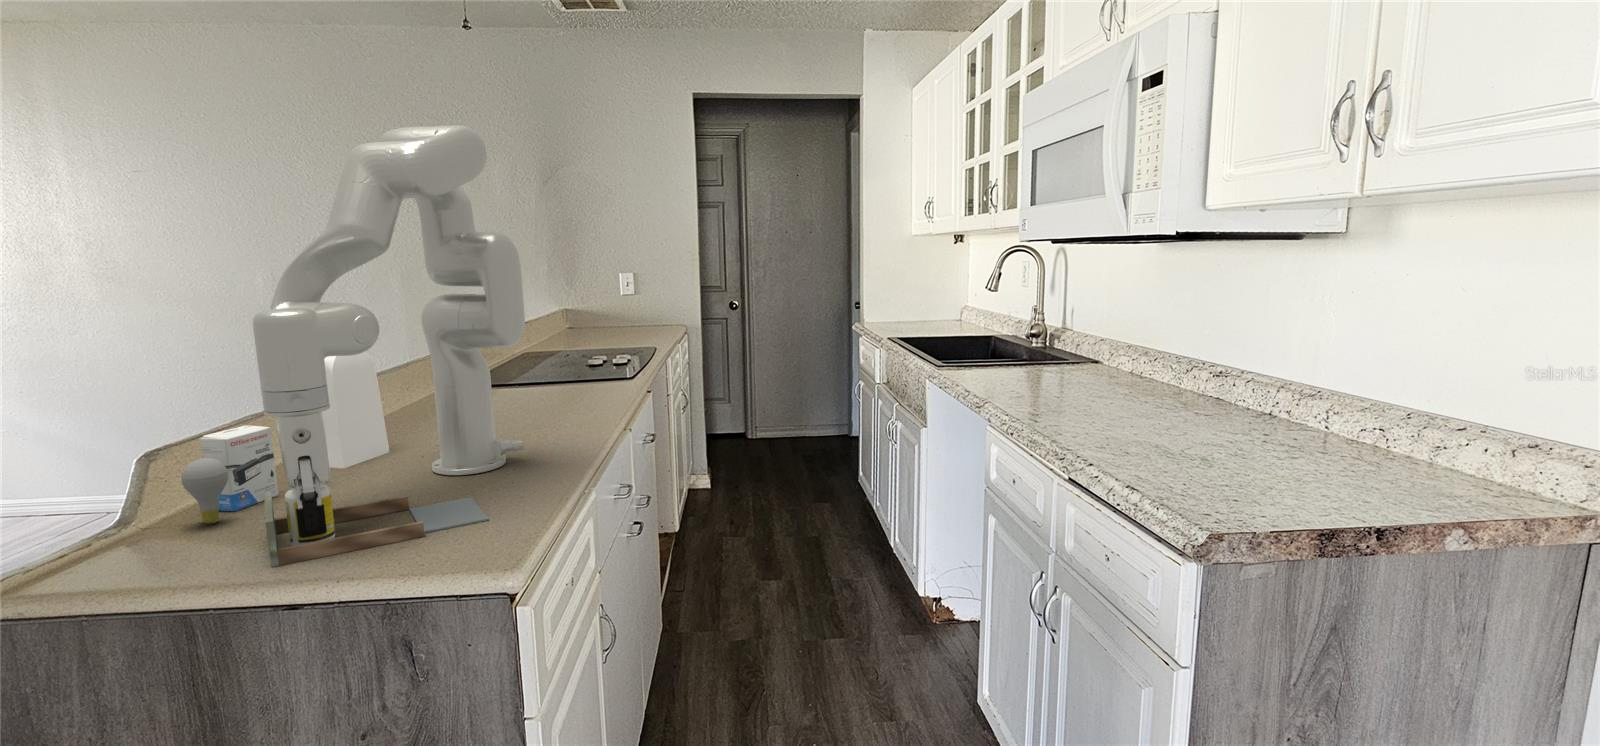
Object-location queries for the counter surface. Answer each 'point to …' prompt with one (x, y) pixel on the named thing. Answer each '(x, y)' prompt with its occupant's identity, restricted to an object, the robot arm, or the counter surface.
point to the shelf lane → (344, 542)
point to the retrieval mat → (448, 514)
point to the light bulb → (206, 485)
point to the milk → (353, 411)
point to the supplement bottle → (292, 506)
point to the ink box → (243, 464)
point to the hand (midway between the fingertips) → (311, 527)
